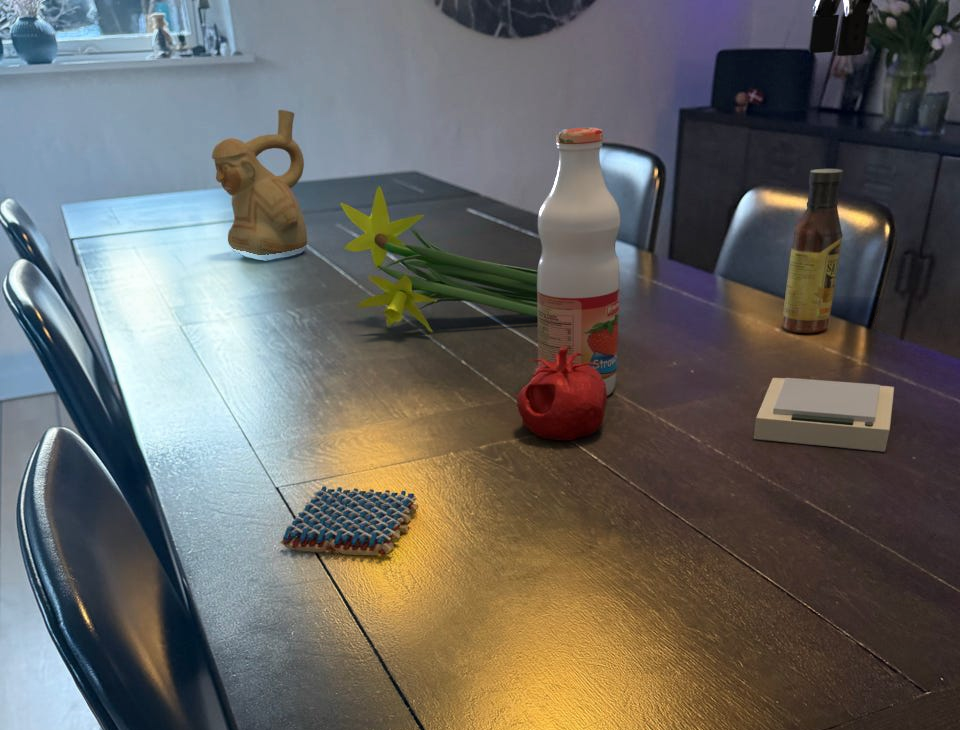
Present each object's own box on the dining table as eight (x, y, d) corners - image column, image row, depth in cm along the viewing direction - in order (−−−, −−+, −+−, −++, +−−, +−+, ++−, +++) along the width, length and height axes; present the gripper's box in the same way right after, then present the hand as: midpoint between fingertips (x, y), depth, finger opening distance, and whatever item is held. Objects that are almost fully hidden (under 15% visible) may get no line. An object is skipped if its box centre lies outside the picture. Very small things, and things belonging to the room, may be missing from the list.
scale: (770, 397, 108) (773, 372, 106) (890, 407, 103) (895, 381, 102) (753, 439, 98) (756, 412, 96) (885, 452, 94) (891, 423, 92)
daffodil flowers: (569, 345, 131) (321, 291, 125) (546, 371, 145) (323, 323, 140) (589, 227, 130) (342, 167, 125) (565, 264, 145) (342, 212, 140)
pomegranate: (593, 409, 107) (595, 328, 102) (618, 441, 99) (621, 354, 94) (509, 418, 106) (507, 336, 101) (528, 451, 98) (526, 364, 93)
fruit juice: (545, 376, 118) (542, 126, 102) (619, 378, 116) (628, 123, 100) (532, 402, 110) (527, 136, 94) (611, 405, 108) (620, 133, 92)
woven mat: (424, 507, 88) (422, 488, 87) (390, 562, 80) (387, 541, 79) (321, 501, 90) (318, 482, 89) (278, 554, 82) (274, 533, 81)
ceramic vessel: (211, 258, 187) (183, 117, 173) (293, 241, 198) (272, 106, 184) (255, 270, 177) (229, 120, 163) (339, 251, 187) (321, 109, 173)
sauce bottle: (827, 336, 126) (853, 174, 115) (779, 334, 128) (800, 174, 116) (828, 322, 131) (853, 166, 120) (782, 321, 133) (803, 166, 121)
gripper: (925, -134, 100) (893, 54, 109) (862, -115, 114) (839, 49, 123) (855, -130, 99) (829, 58, 109) (802, -112, 114) (783, 53, 123)
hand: (834, 53), depth 116 cm, fingers open, 9 cm apart
